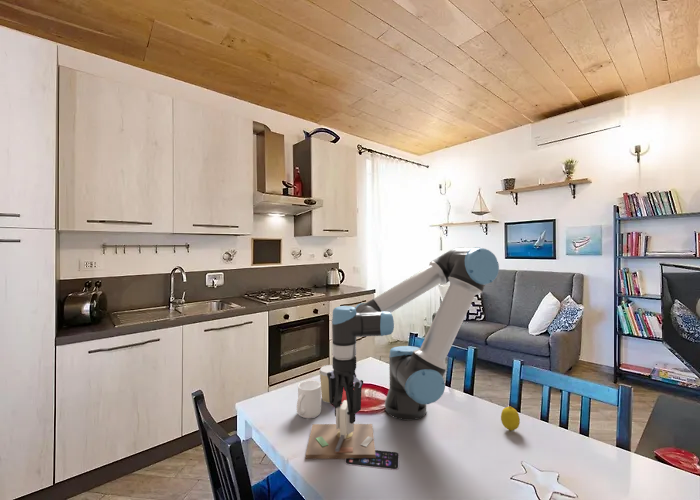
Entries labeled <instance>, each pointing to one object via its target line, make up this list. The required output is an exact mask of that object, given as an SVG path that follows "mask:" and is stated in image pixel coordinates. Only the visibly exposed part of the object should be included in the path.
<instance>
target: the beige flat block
mask: <svg viewBox="0 0 700 500" xmlns="http://www.w3.org/2000/svg"><path fill="white" fill-rule="evenodd" d="M340 406H341V407H340V439H339V441H338V444H337V446H336V449H335V452H339V450H340V448H341V445H342V443H343V440H344V439H346V436H347V434H346V413H347V412H348V405H347V399H344V400H342V404H341V405H340Z"/></svg>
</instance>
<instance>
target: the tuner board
mask: <svg viewBox="0 0 700 500" xmlns="http://www.w3.org/2000/svg"><path fill="white" fill-rule="evenodd" d="M339 439H340V428H339V429H336V423H328V424H327V423H325V424H324V423H323V424H322V423H318V424H317V423H313V424H312V426H311V430H310V434H309V438H308V442H307V447H306V452H305V459H306V460H311V459H312V460H314V459H315V460H317V459H318V460H320V459H322V460H325V459H326V460H332V459H334V460H337V459H338V460H341V459H343V460H346V458H376V454H375V450H376V448H375V447H376V446H375V437H374V428H373V423H354V431H353V432H351V433H350V434H347V436H346V439H344V440H343V443H342V445H341V448H340V450H339V452H335V449H336V446H337V444H338V441H339Z"/></svg>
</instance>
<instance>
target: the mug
mask: <svg viewBox="0 0 700 500" xmlns="http://www.w3.org/2000/svg"><path fill="white" fill-rule="evenodd" d="M297 392H298V393H297V397H298V398H297V400H296V401H297V402H296V412H297V414H298V415H299V417H301V418H303V419H315V418H317V417H318V416H319V415H321V413H322V394H321V381H317V380H305V381H302V382H299V384H298V385H297Z"/></svg>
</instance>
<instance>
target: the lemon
mask: <svg viewBox="0 0 700 500" xmlns="http://www.w3.org/2000/svg"><path fill="white" fill-rule="evenodd" d="M520 420H521V419H520V415H519V412H518V411H517V410H516V409H515V408H514V407H512V406H510V405H509V406H506V407H504V408H503V409H502V410H501V415H500V421H501V423H502V425H503V427H504V428H505V429H507V430H508V431H509V432H512V431H515V430H517V429H518V428H519V427H520V423H521V422H520Z"/></svg>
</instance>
